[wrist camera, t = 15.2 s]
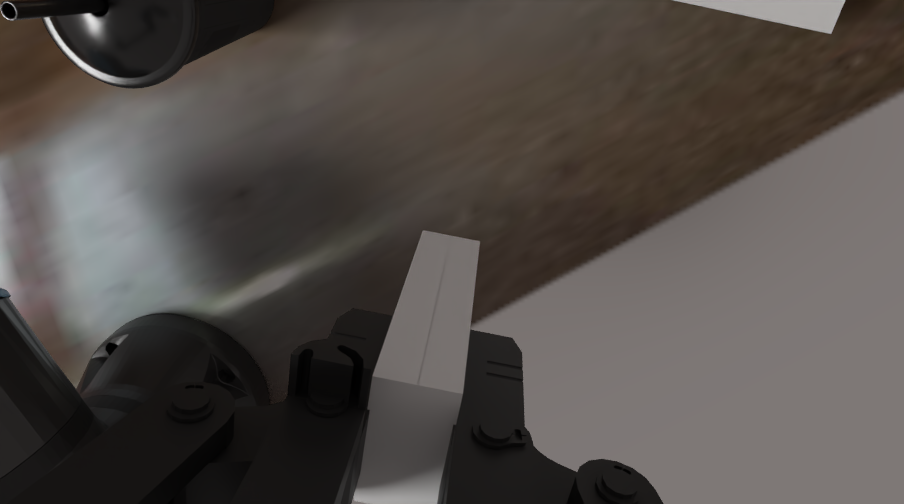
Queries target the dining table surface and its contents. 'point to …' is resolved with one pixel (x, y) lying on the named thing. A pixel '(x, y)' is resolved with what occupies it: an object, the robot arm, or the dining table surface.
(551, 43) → the dining table surface
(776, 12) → the socket
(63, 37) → the drinking cup
